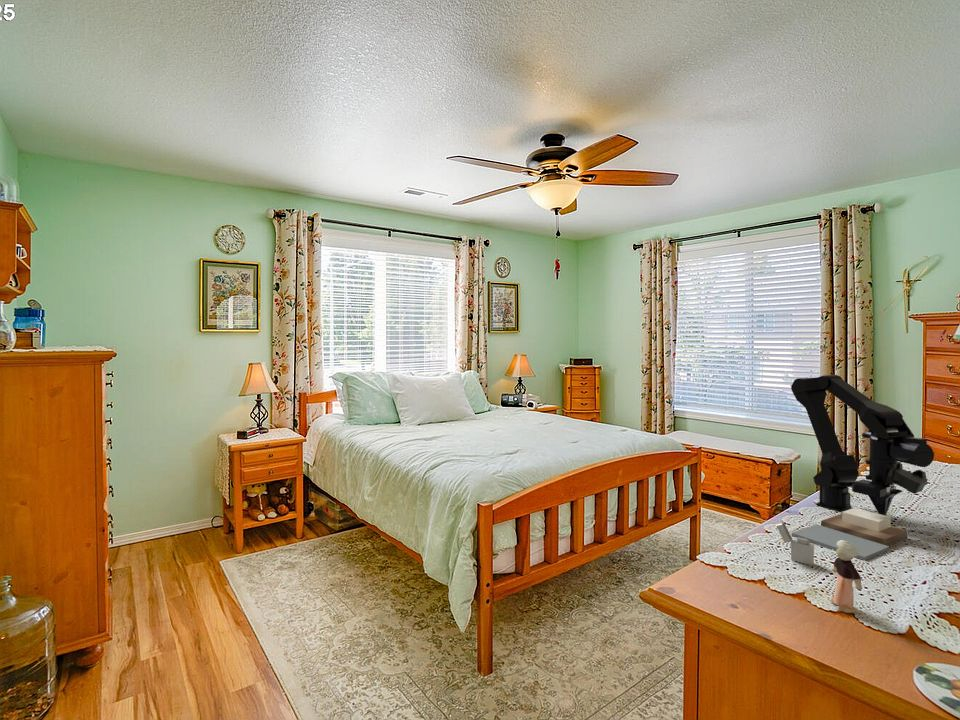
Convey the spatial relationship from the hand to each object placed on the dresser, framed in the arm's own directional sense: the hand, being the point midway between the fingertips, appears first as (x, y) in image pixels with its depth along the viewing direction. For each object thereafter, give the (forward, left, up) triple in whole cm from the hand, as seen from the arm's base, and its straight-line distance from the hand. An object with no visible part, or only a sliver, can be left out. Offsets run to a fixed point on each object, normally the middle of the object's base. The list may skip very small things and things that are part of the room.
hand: (882, 515), depth 130 cm
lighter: (0, -39, -3) cm, 39 cm away
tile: (0, -8, 0) cm, 8 cm away
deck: (0, -10, -2) cm, 10 cm away
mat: (0, -21, -2) cm, 21 cm away
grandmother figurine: (+16, -51, -3) cm, 54 cm away
